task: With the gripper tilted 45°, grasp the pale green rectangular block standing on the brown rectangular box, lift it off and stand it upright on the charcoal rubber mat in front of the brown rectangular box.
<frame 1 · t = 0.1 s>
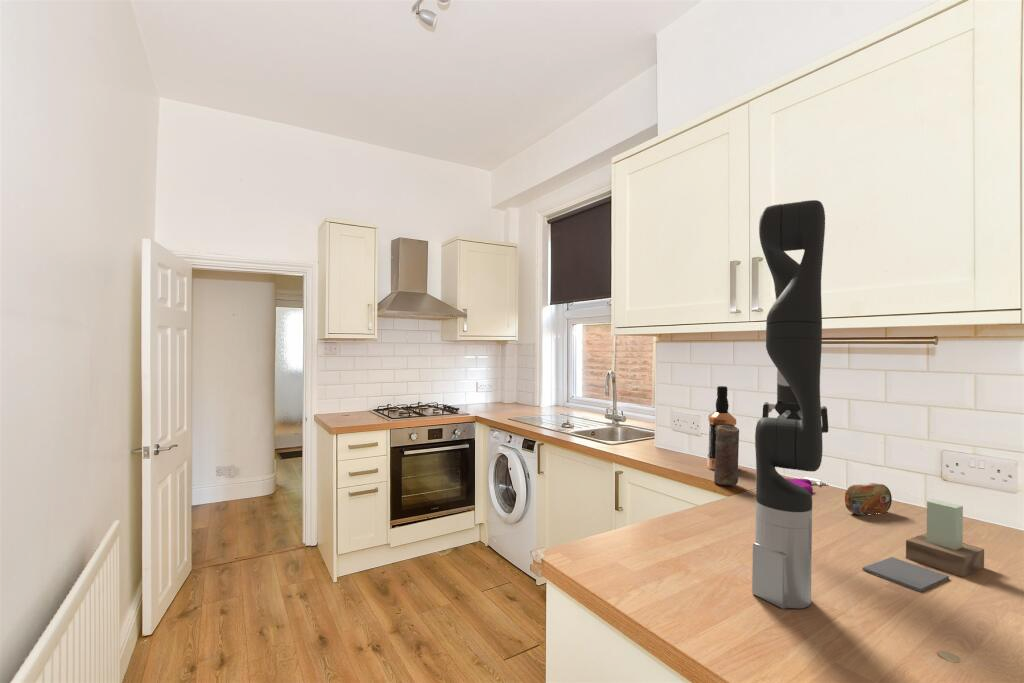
hand: (794, 445, 120), 22 cm above the worktop, tool pointing down, fingers open, 8 cm apart
whiskey bottle: (721, 468, 188), on the worktop
brown rectangular box: (944, 562, 106), on the worktop
candle: (726, 485, 164), on the worktop
tin: (867, 514, 138), on the worktop
mat: (905, 574, 100), on the worktop
spray bottle: (798, 489, 162), on the worktop
pale green rectangular block: (944, 544, 106), point 4 cm above the worktop, touching brown rectangular box
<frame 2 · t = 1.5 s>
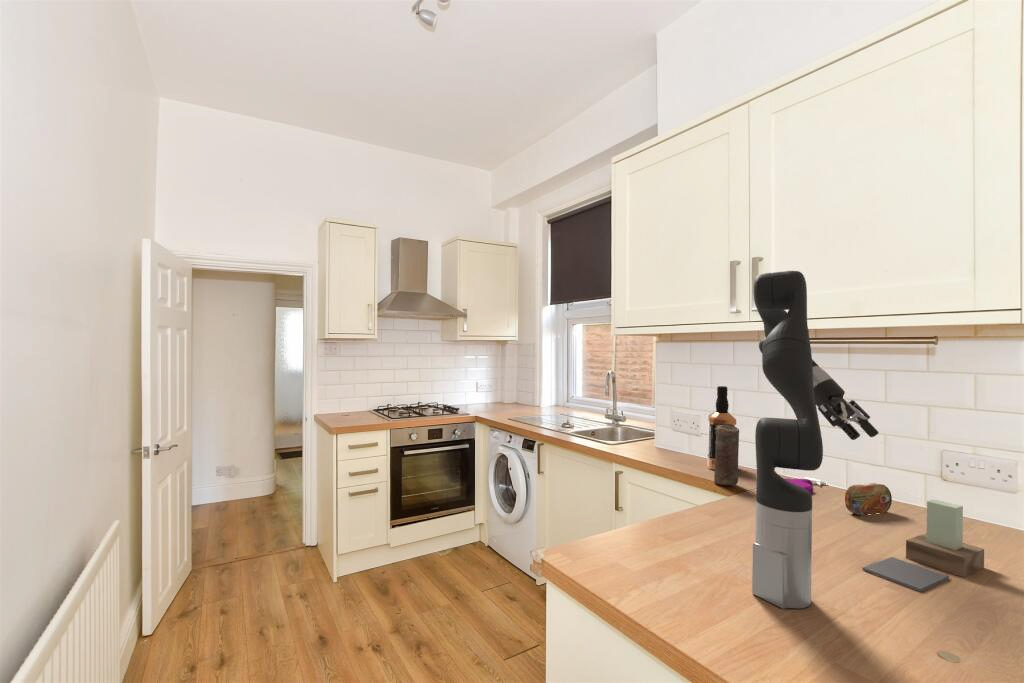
hand: (866, 436, 120), 25 cm above the worktop, tool tilted 45°, fingers open, 8 cm apart
nothing on the worktop moved.
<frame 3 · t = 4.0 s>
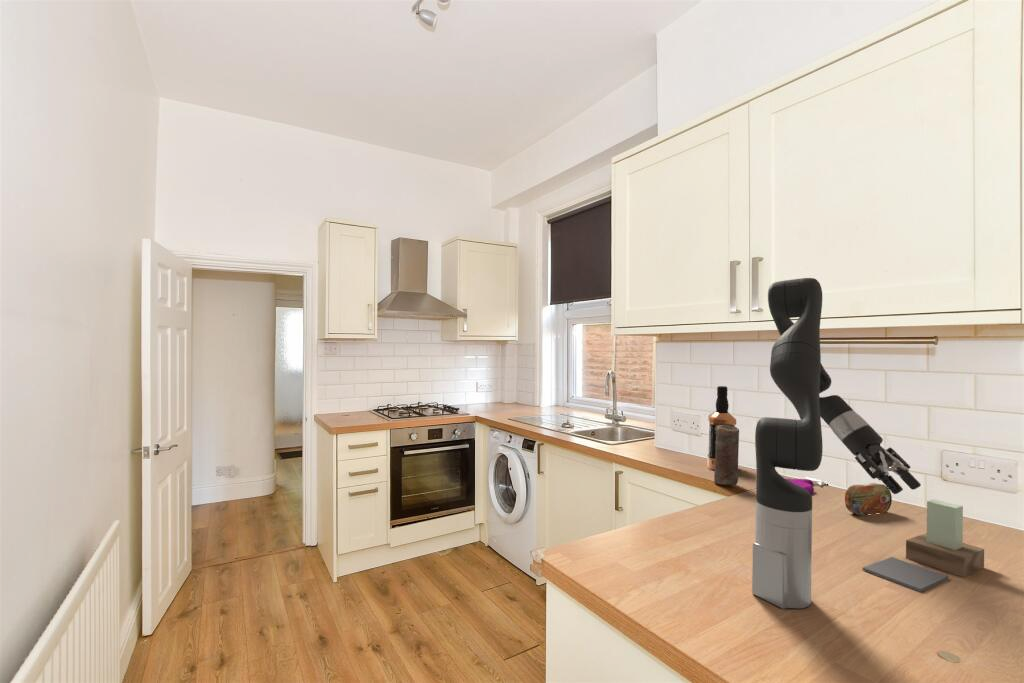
hand: (908, 490, 112), 14 cm above the worktop, tool tilted 45°, fingers open, 8 cm apart
nothing on the worktop moved.
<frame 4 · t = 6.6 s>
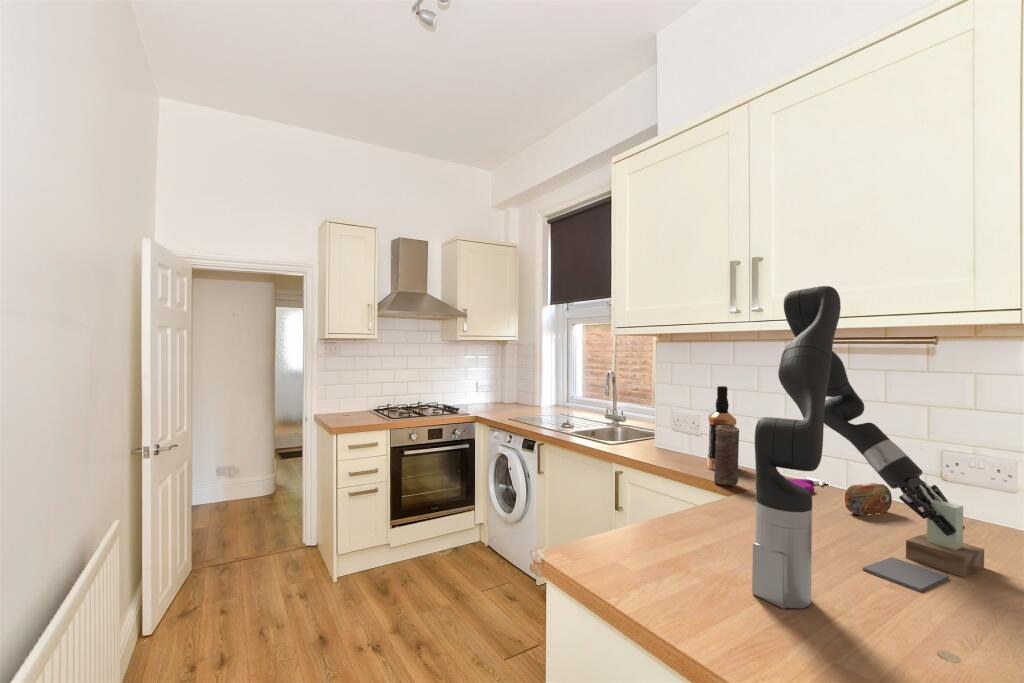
hand: (956, 531, 104), 7 cm above the worktop, tool tilted 45°, fingers closed on pale green rectangular block, 3 cm apart
pale green rectangular block: (944, 544, 106), point 4 cm above the worktop, touching brown rectangular box, gripper
everything else where it was.
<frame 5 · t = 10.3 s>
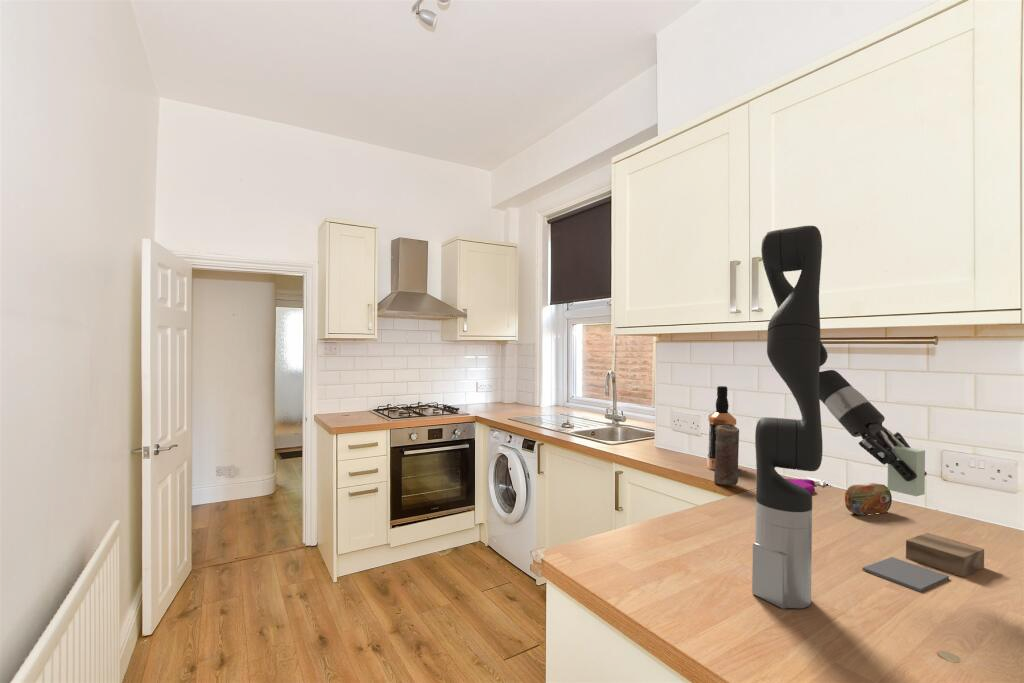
hand: (917, 477, 98), 21 cm above the worktop, tool tilted 45°, fingers closed on pale green rectangular block, 3 cm apart
pale green rectangular block: (905, 491, 100), point 17 cm above the worktop, touching gripper
everything else where it was.
when the fingers open (5 cm above the worktop, at t = 14.1 s): pale green rectangular block drops 1 cm, resting on mat.
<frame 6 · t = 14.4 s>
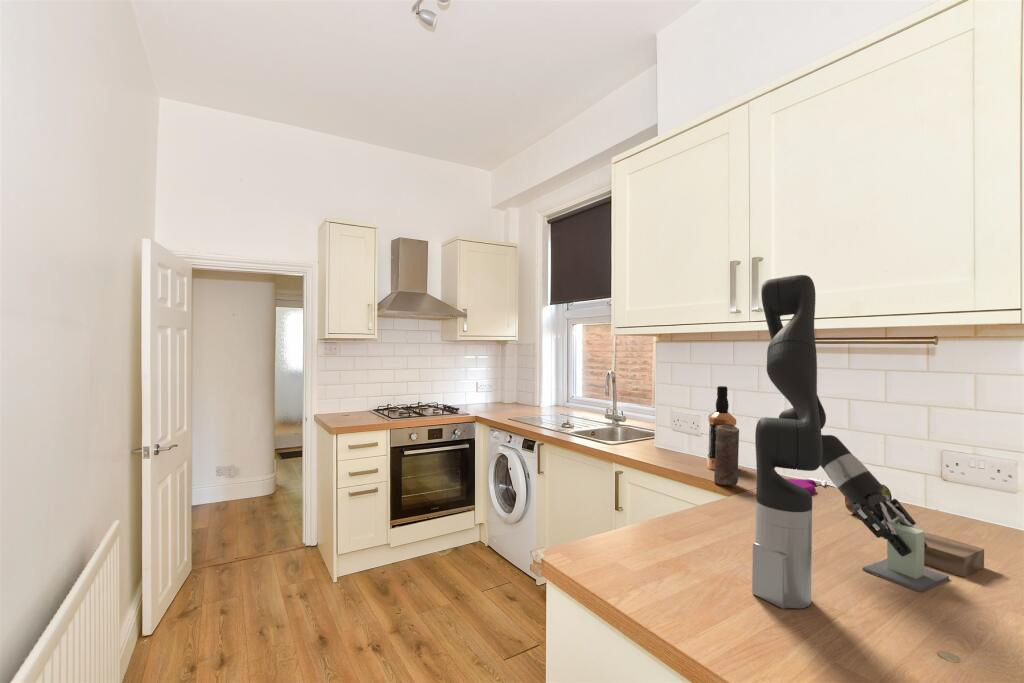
hand: (915, 551, 98), 6 cm above the worktop, tool tilted 45°, fingers open, 6 cm apart
pale green rectangular block: (905, 571, 100), point 1 cm above the worktop, touching mat
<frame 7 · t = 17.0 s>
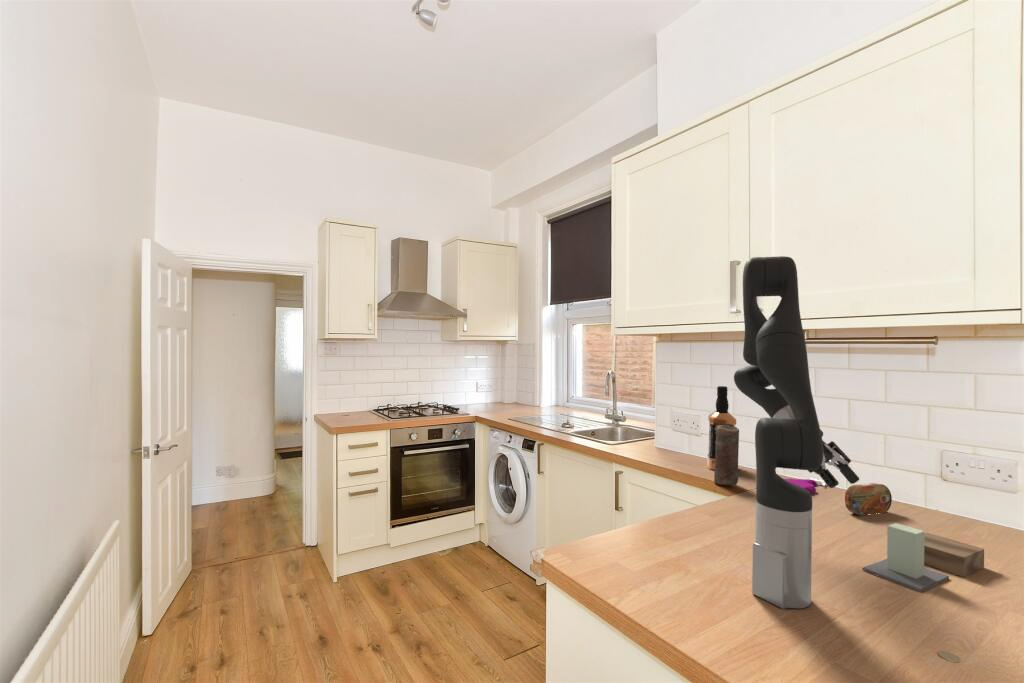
hand: (845, 484, 110), 16 cm above the worktop, tool tilted 45°, fingers open, 8 cm apart
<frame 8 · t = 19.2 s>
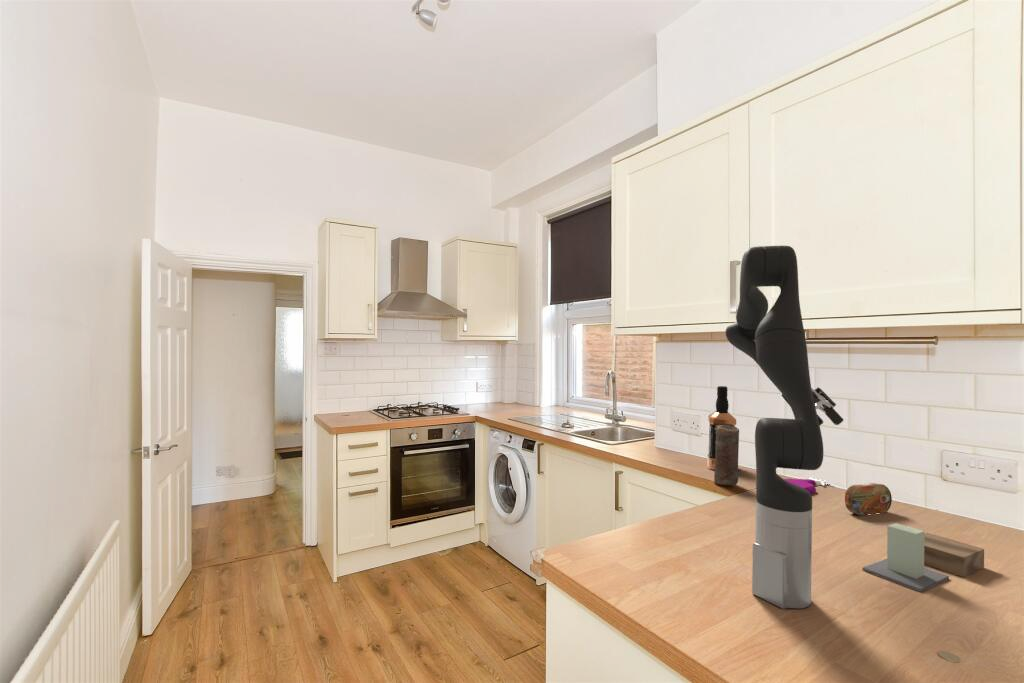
hand: (830, 423, 116), 29 cm above the worktop, tool tilted 45°, fingers open, 8 cm apart
at the end: pale green rectangular block inside the target area on the mat (0.0 cm from its centre), point 0.6 cm above the mat's base; pale green rectangular block tilted 0°; the gripper is holding nothing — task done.
